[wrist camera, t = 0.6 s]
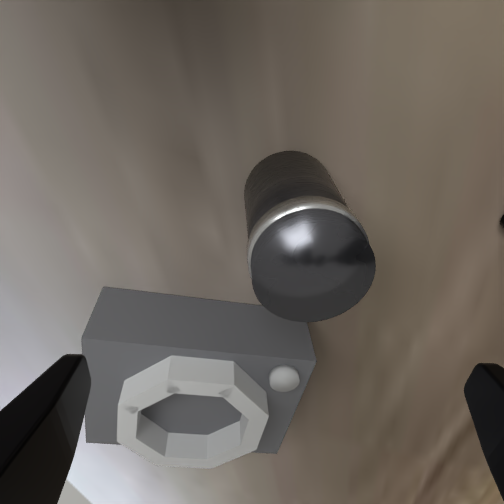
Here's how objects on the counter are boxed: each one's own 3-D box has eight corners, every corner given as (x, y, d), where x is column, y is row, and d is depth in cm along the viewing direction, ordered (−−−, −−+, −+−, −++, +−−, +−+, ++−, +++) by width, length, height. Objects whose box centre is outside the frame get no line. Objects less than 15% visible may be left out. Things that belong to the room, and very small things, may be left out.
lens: (345, 158, 19) (399, 230, 13) (317, 238, 21) (352, 329, 15) (252, 140, 18) (265, 209, 12) (234, 225, 20) (238, 317, 15)
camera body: (304, 310, 24) (322, 384, 19) (270, 400, 29) (279, 477, 24) (103, 286, 22) (71, 362, 18) (103, 387, 27) (78, 467, 22)
